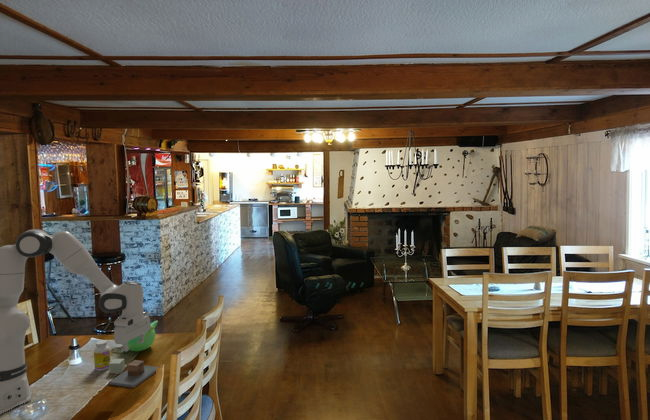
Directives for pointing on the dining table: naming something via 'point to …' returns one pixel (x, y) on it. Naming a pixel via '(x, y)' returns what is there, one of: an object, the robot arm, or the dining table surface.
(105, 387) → the dining table surface
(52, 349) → the dining table surface
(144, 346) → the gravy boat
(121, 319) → the robot arm
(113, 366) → the sage cube
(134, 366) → the walnut cube
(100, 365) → the supplement bottle
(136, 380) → the slate board
